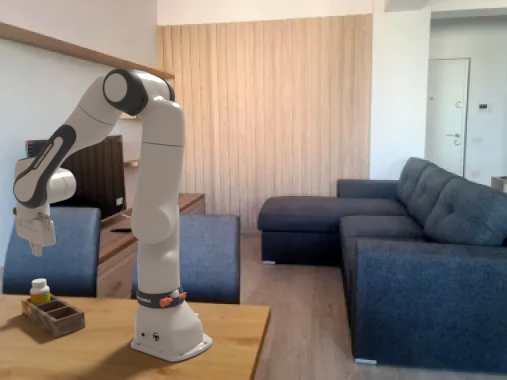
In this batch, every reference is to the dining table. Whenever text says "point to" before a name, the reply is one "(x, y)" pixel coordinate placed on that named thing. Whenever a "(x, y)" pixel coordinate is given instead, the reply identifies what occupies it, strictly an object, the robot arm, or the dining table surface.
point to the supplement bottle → (39, 292)
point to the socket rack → (54, 315)
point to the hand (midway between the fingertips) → (37, 255)
